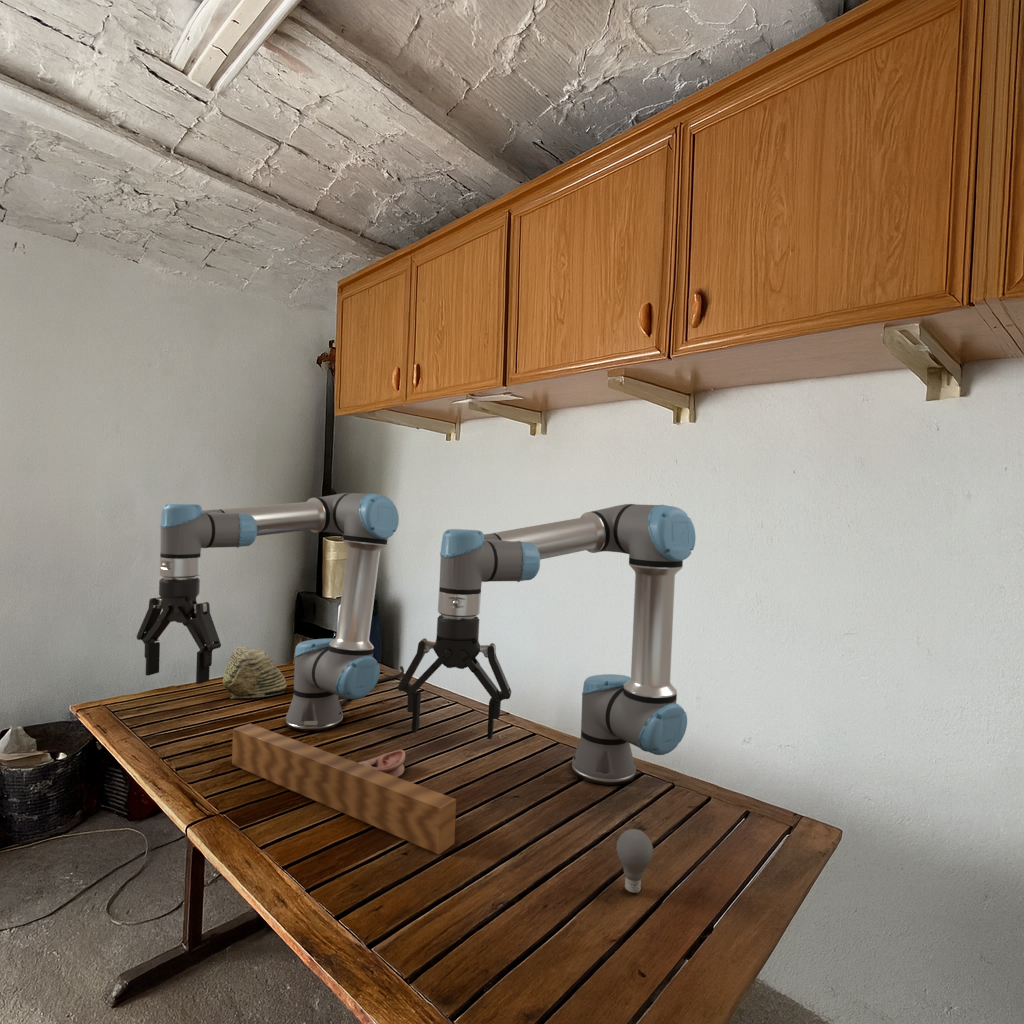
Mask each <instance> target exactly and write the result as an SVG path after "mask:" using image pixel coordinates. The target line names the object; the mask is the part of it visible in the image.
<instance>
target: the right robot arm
mask: <svg viewBox="0 0 1024 1024" xmlns="http://www.w3.org/2000/svg"><path fill="white" fill-rule="evenodd" d="M696 540H697V539H696V529H695V526H694V523H693V520H692V518H691V517H689V515H688V513H687V512H686V511H685V510H683V509H682V508H681V507H677V506H673V505H672V506H671V505H667V504H637V503H636V504H635V503H624V504H619V505H614V506H610V507H606V508H602V509H596V510H592V511H586V512H584V513H582V514H581V515H580V517H577V518H572V519H565V520H559V521H554V522H548V523H542V524H536V525H529V526H524V527H520V528H514V529H507V530H501V531H497V532H492V533H485V534H484V532H483V531H481V530H477V529H462V528H461V529H460V528H450V529H449V528H448V529H446V530H445V531H444V532H443V533H442V539H441V544H440V552H439V557H440V561H439V563H440V564H439V583H438V584H439V587H438V600H437V601H438V602H437V612H438V613H439V616H437V620H436V637H435V641H431V640H428V639H427V638H425V637H424V638H422V639H420V641H419V642H417V643H418V644H417V649H416V653H415V655H414V657H413V658H412V661H411V662H410V664H409V666H408V668H407V670H406V671H405V672H404V674H403V677H402V678H401V680H400V682H399V683H398V685H397V689H398V692H399V691H400V692H404V693H406V695H407V703H406V704H407V705H406V707H407V708H406V710H407V712H408V713H412V715H411V733H414V734H416V733H417V732H418V730H419V729H420V721H421V720H420V717H421V700H422V698H421V697H422V692H421V691H418V690H419V689H420V688H421V687H422V686H423V685H424V684H425V683H426V681H428V679H429V678H430V677H432V675H433V674H434V673H435V672H436V671H437V670H438V669H439V668H440V667H441V666H442V665H443V667H446V668H447V669H453V668H456V669H460V670H464V669H466V668H468V669H469V671H470V672H471V673H472V674H473V675H474V676H475V678H476V679H477V680H478V681H479V683H480V684H481V686H482V687H483V689H485V691H486V692H487V694H488V695H489V696H490V699H489V701H488V714H487V715H488V716H487V731H486V740H492V738H493V736H494V725H495V720H499V718H500V716H501V709H502V707H501V705H502V704H501V703H502V701H505V700H510V698H511V695H512V690H511V687H510V685H509V683H508V680H507V677H506V675H505V673H504V671H503V668H502V665H501V663H500V661H499V659H498V656H497V646H496V644H495V643H493V642H491V643H490V644H480V642H479V637H480V636H479V635H480V634H479V633H480V618H479V617H478V616H479V615H480V614H481V600H482V598H481V597H482V584H483V583H488V582H517V583H520V582H524V581H531V580H533V579H535V577H537V575H538V574H539V571H540V567H541V560H546V559H550V558H555V557H559V556H564V555H565V556H566V555H569V554H574V553H575V554H576V553H579V552H584V551H585V552H587V553H592V554H596V553H600V552H602V553H603V552H608V553H619V554H620V553H621V554H626V555H628V566H629V567H630V568H631V569H632V570H633V572H634V576H635V578H634V597H633V599H634V600H633V618H632V619H633V620H632V643H631V662H630V663H631V664H630V665H631V666H630V667H631V669H630V676H628V675H624V674H613V673H612V674H611V673H609V674H608V673H607V674H606V673H605V674H594V675H590V676H588V677H586V678H585V680H584V682H583V687H582V693H581V696H582V697H581V721H580V722H581V723H580V724H581V725H580V738H579V741H578V744H577V746H576V749H575V751H574V754H573V757H572V761H571V771H572V772H573V774H574V775H575V776H577V777H578V778H580V780H581V779H582V780H583V781H585V782H588V783H592V784H597V785H604V786H621V785H625V784H628V783H630V782H632V781H634V779H635V778H636V775H637V766H636V762H635V760H634V756H633V751H632V748H631V745H633V746H634V747H637V748H638V749H640V750H641V751H643V752H646V753H650V754H653V755H656V756H664V755H667V754H669V753H671V752H672V751H674V750H675V749H676V748H677V747H678V746H679V744H680V743H681V742H682V740H683V738H684V736H685V734H686V731H687V726H688V715H687V712H686V711H685V709H684V708H683V707H682V706H681V705H680V704H679V703H677V700H678V699H677V697H678V691H677V688H676V687H675V686H674V684H672V683H671V672H672V651H673V649H672V648H673V630H674V628H673V625H674V604H675V585H676V583H675V582H676V575H677V574H678V573H679V572H680V571H681V570H682V569H683V567H684V566H683V565H684V560H686V559H688V558H689V557H690V556H691V554H692V551H694V549H695V545H696ZM431 650H433V651H434V653H435V654H436V656H437V658H436V659H435V660H434V661H433V662H432V664H430V665H429V667H428V668H427V669H426V670H424V672H423V673H422V674H421V675H420V676H419V677H418V678H417V680H415V681H414V682H413V683H412V684H411V683H410V681H411V680H412V678H413V677H414V674H415V673H416V671H417V669H418V668H419V666H420V664H421V662H422V660H423V659H424V657H425V655H426V654H428V653H430V651H431ZM480 653H482V654H483V656H484V658H486V659H487V660H488V664H489V666H490V668H491V670H492V673H493V675H494V679H495V680H496V683H497V684H498V687H499V688H498V687H497V686H496V684H495V683H494V682H493V680H492V679H491V678H490V676H489V675H488V673H487V672H486V671H485V670H484V668H483V666H481V664H480V662H479V660H478V659H477V657H478V655H479V654H480ZM499 689H500V690H499Z"/></svg>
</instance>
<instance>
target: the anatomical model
mask: <svg viewBox="0 0 1024 1024" xmlns="http://www.w3.org/2000/svg"><path fill="white" fill-rule="evenodd" d="M405 760H406V751H405V750H403V749H397V750H393V751H390V752H387V753H383V754H381V755H378V756H375V757H373V758H370V759H367V760H363V761H359V762H358V763H359V764H362V765H365V766H367V767H370V768H373V769H376V770H378V771H381V772H384V773H386V774H389V775H392V776H395V777H397V778H399V777H400V776H402V775H403V773H404V772H405V765H404V763H405Z"/></svg>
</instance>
